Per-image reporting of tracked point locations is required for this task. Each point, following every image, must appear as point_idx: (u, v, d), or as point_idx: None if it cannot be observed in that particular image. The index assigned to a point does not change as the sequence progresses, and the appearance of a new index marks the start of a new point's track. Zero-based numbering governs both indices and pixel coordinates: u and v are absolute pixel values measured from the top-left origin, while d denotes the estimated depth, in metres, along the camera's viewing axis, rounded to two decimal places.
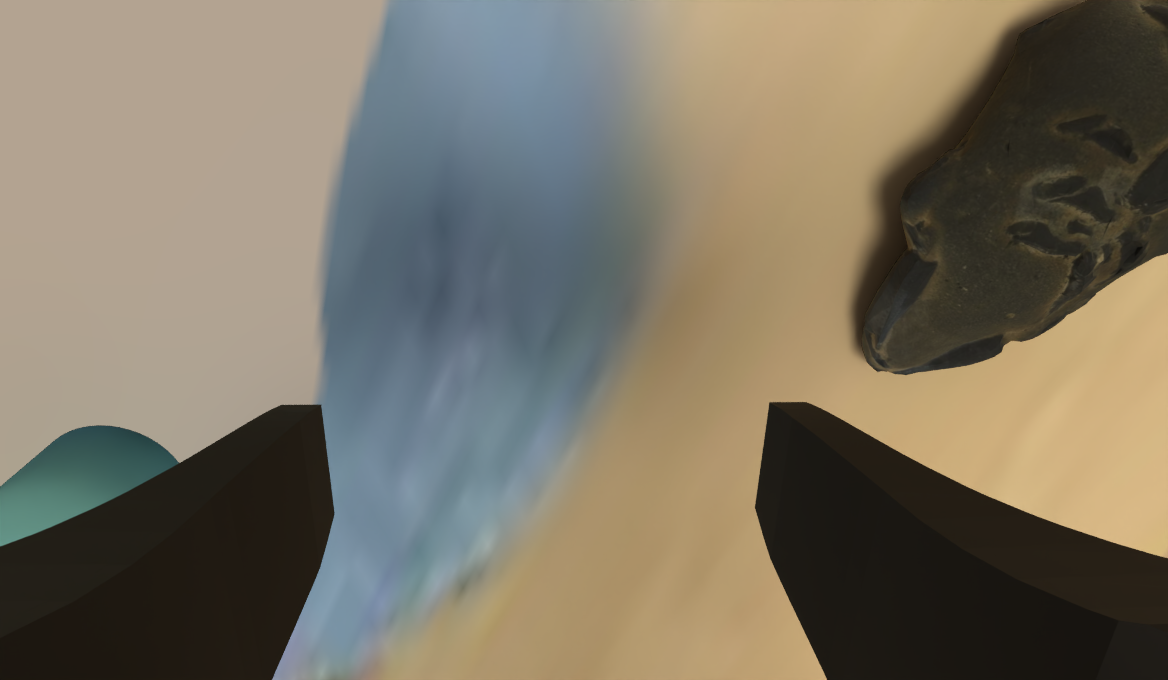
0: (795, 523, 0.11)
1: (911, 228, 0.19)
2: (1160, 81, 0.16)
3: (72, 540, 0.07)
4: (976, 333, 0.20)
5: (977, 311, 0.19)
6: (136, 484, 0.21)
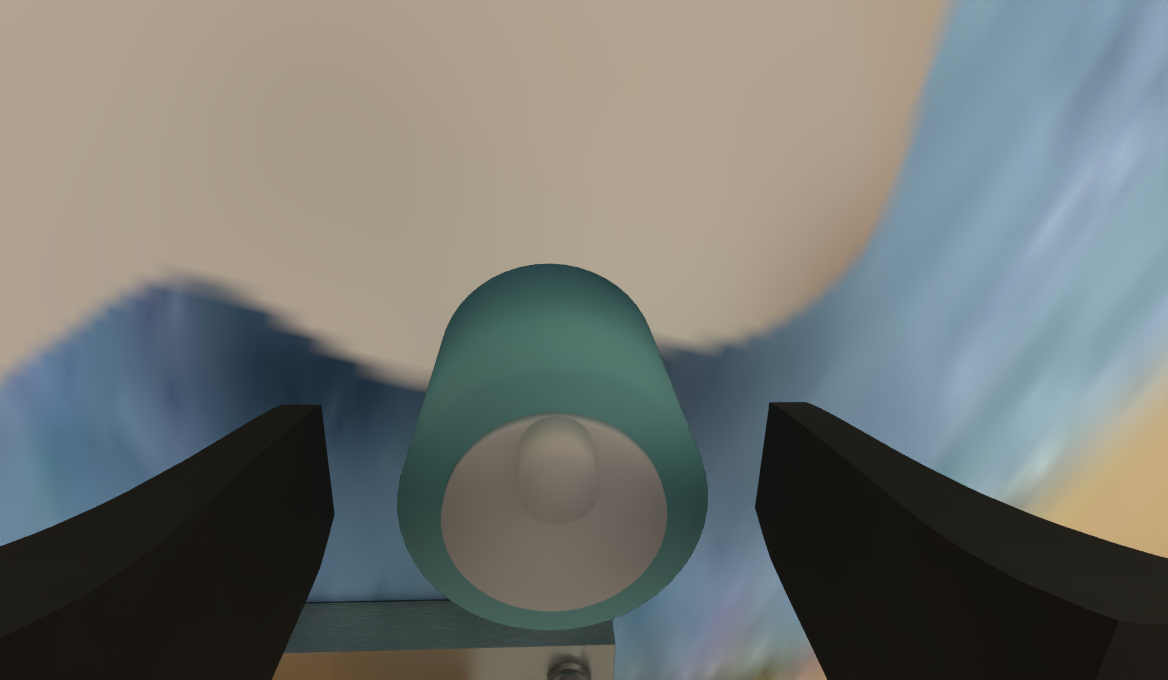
0: (795, 523, 0.11)
1: None
2: None
3: (72, 540, 0.07)
4: None
5: None
6: (650, 341, 0.13)
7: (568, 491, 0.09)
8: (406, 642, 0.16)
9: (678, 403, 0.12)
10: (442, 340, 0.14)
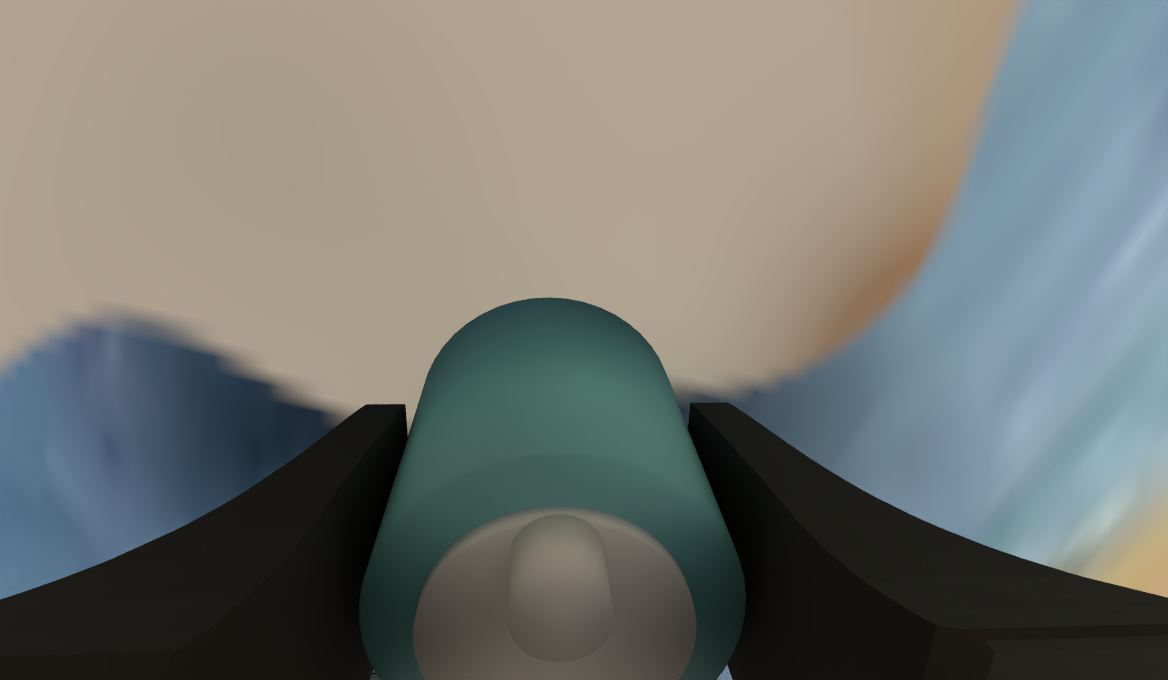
0: None
1: None
2: None
3: (213, 537, 0.07)
4: None
5: None
6: (669, 394, 0.11)
7: (574, 622, 0.07)
8: None
9: (706, 479, 0.09)
10: (423, 388, 0.12)
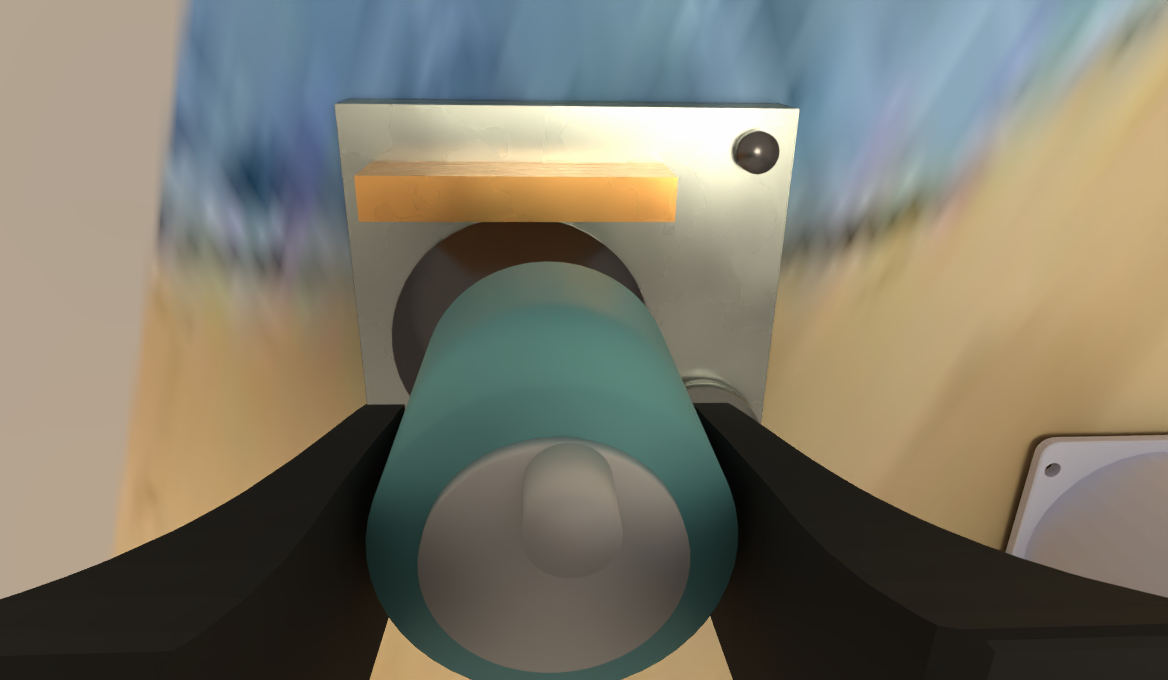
0: None
1: None
2: None
3: (213, 537, 0.07)
4: None
5: None
6: (673, 362, 0.12)
7: (585, 539, 0.07)
8: (609, 105, 0.18)
9: (707, 438, 0.10)
10: (432, 336, 0.12)
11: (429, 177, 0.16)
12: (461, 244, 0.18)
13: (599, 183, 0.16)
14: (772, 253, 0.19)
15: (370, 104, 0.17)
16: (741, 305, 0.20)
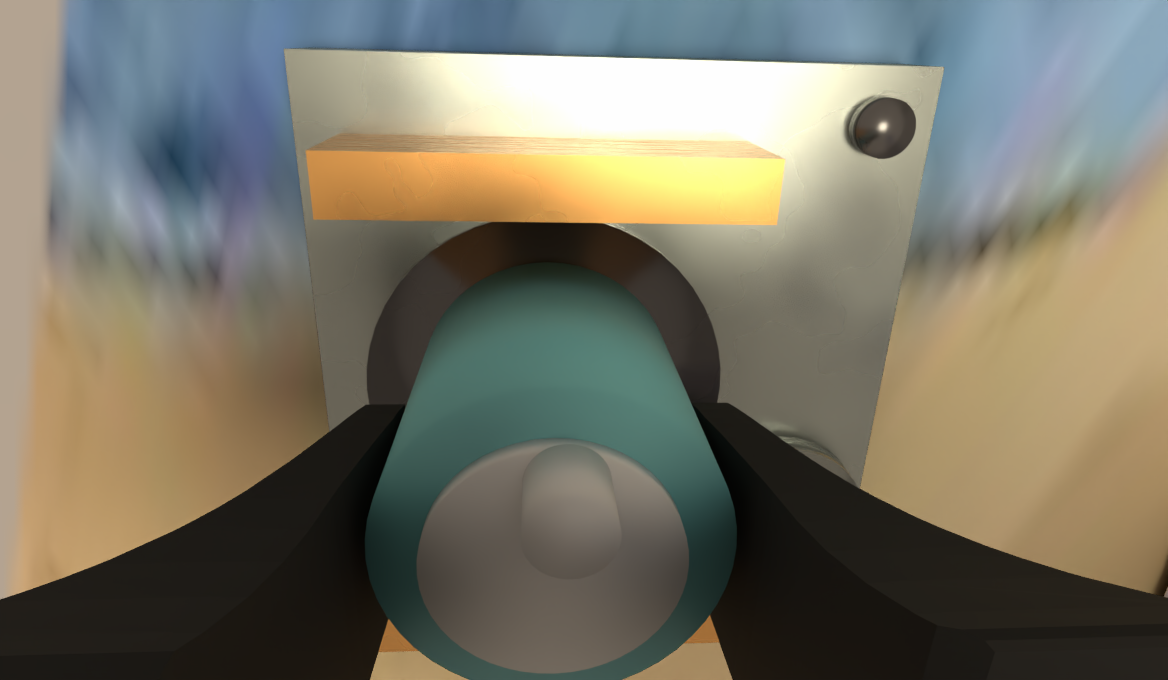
0: None
1: None
2: None
3: (214, 537, 0.07)
4: None
5: None
6: (672, 362, 0.12)
7: (583, 540, 0.07)
8: (676, 59, 0.12)
9: (706, 439, 0.10)
10: (432, 337, 0.12)
11: (418, 154, 0.11)
12: (464, 252, 0.13)
13: (670, 166, 0.11)
14: (891, 269, 0.14)
15: (336, 51, 0.12)
16: (844, 339, 0.14)
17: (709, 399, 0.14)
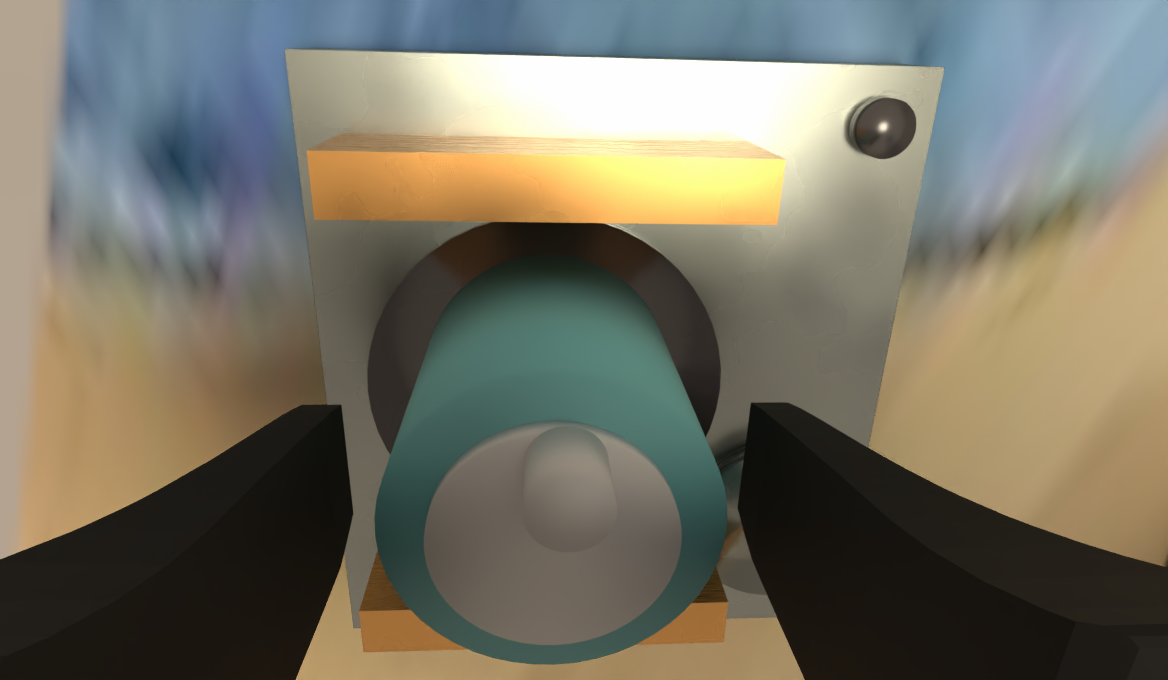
0: (774, 523, 0.11)
1: None
2: None
3: (106, 540, 0.07)
4: None
5: None
6: (668, 351, 0.12)
7: (581, 515, 0.08)
8: (677, 59, 0.12)
9: (699, 423, 0.10)
10: (436, 327, 0.13)
11: (419, 154, 0.11)
12: (464, 252, 0.13)
13: (670, 166, 0.11)
14: (891, 269, 0.14)
15: (336, 51, 0.12)
16: (844, 339, 0.14)
17: (709, 399, 0.15)
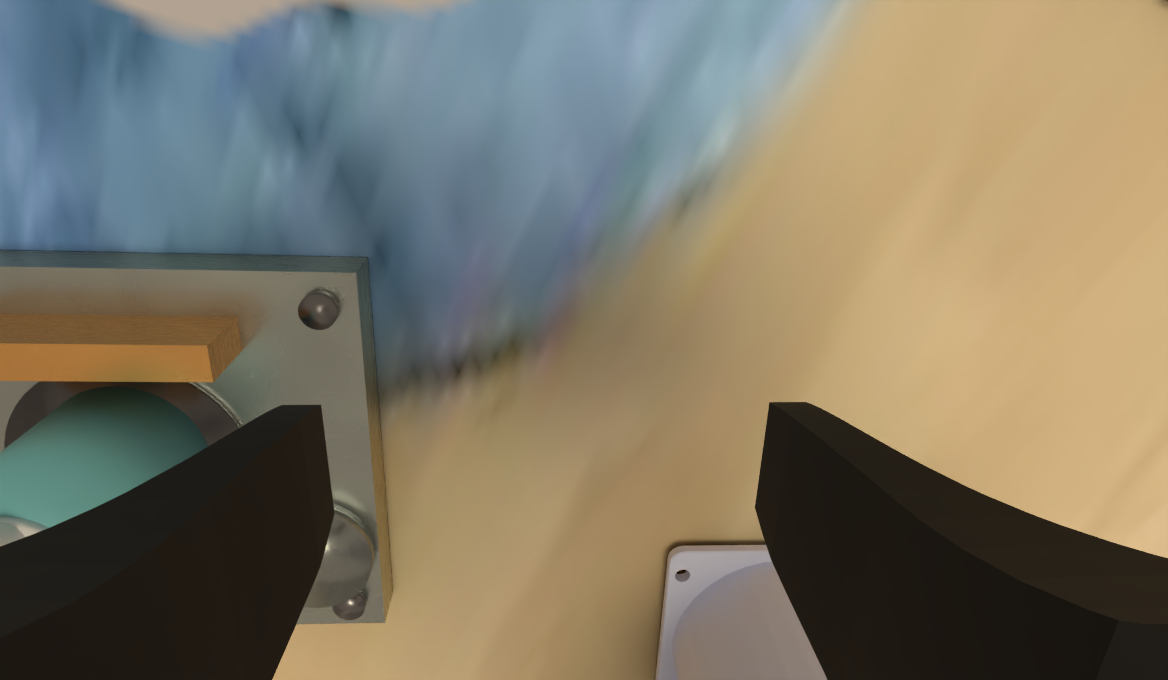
0: (795, 523, 0.11)
1: None
2: None
3: (72, 540, 0.07)
4: None
5: None
6: (162, 456, 0.19)
7: None
8: (181, 267, 0.19)
9: None
10: None
11: None
12: (56, 385, 0.20)
13: (134, 349, 0.18)
14: (357, 393, 0.21)
15: None
16: (337, 437, 0.21)
17: None
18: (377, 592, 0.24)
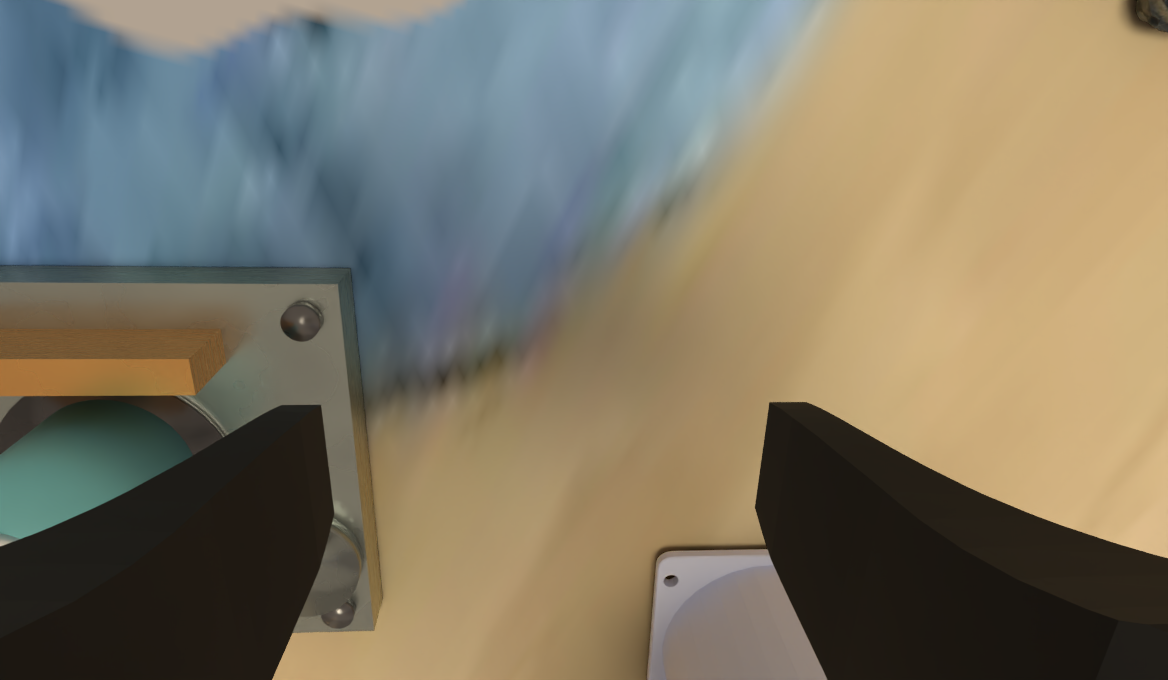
0: (795, 523, 0.11)
1: None
2: None
3: (72, 540, 0.07)
4: None
5: None
6: (146, 469, 0.19)
7: None
8: (163, 280, 0.20)
9: None
10: None
11: None
12: (41, 398, 0.20)
13: (117, 363, 0.18)
14: (341, 404, 0.21)
15: None
16: None
17: None
18: (365, 600, 0.24)
